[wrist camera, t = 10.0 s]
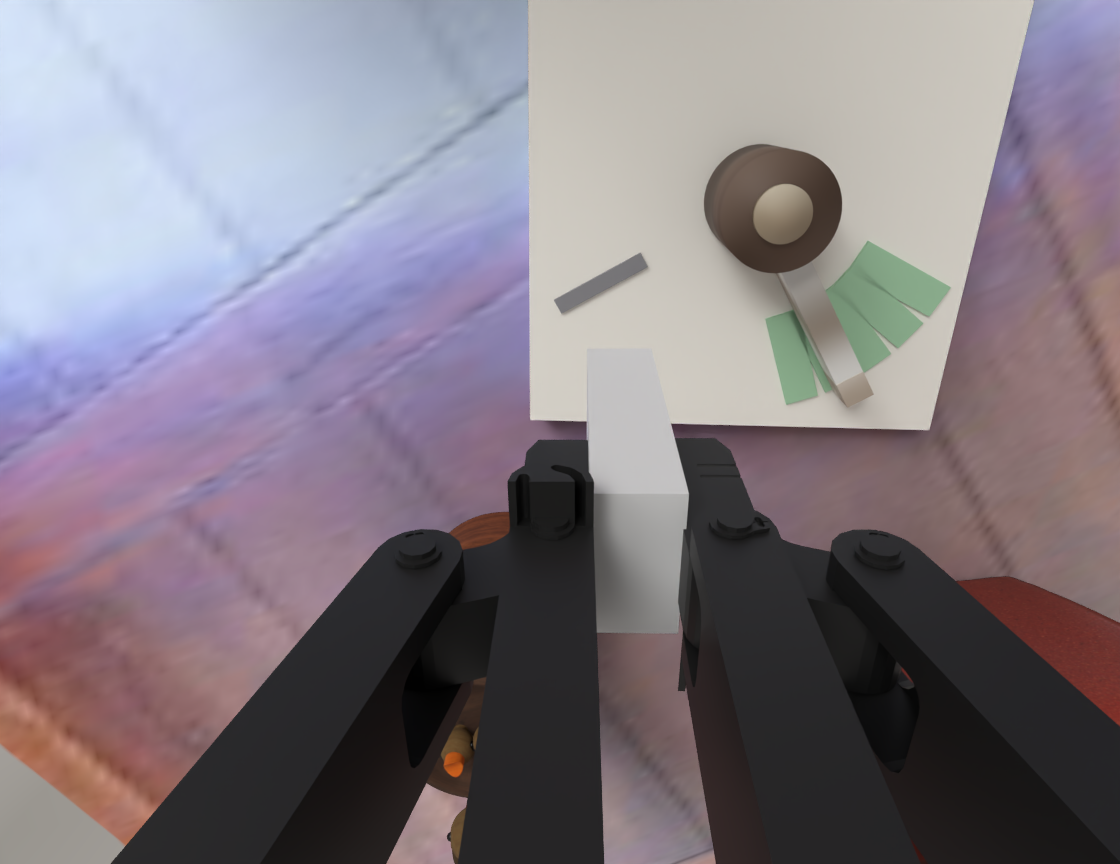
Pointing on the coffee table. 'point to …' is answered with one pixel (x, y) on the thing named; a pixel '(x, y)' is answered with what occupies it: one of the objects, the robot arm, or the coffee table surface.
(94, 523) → the coffee table surface
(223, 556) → the coffee table surface
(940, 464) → the coffee table surface
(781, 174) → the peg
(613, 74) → the board
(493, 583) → the robot arm
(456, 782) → the music box
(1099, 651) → the plant pot
